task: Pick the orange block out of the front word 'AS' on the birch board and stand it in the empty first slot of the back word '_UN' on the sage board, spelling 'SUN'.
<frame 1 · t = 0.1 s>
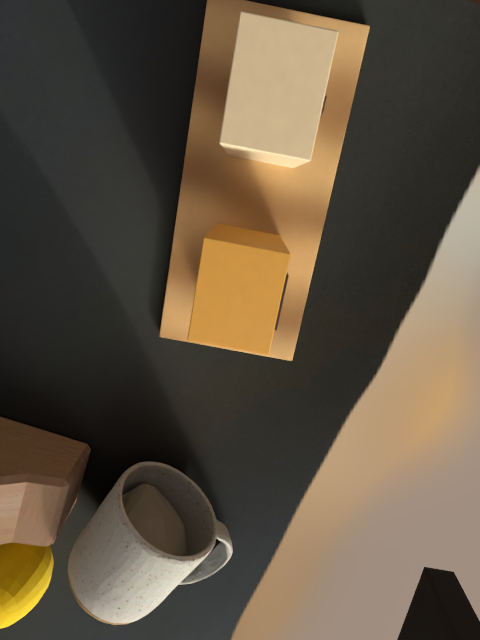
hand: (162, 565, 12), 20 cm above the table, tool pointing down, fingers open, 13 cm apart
fruit: (35, 531, 36), on the table
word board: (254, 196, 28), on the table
orange block: (240, 268, 29), resting on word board
decorative block: (13, 449, 34), on the table
A tile: (269, 116, 27), resting on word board
ceramic mug: (168, 510, 35), on the table
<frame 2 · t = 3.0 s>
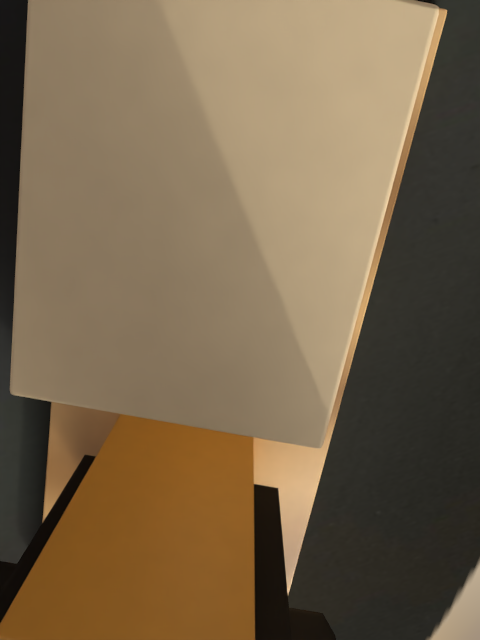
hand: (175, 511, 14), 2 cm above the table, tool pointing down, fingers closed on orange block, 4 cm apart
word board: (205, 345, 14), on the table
orange block: (180, 476, 15), point 1 cm above the table, touching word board, gripper
A tile: (229, 201, 13), resting on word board
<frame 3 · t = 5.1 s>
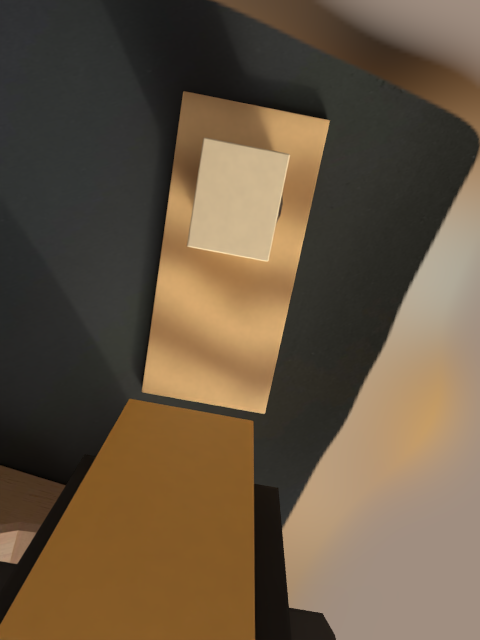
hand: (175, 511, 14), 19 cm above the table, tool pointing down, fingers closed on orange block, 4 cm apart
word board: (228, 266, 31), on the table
orange block: (180, 476, 15), point 17 cm above the table, touching gripper
decorative block: (7, 493, 36), on the table
A tile: (240, 198, 29), resting on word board
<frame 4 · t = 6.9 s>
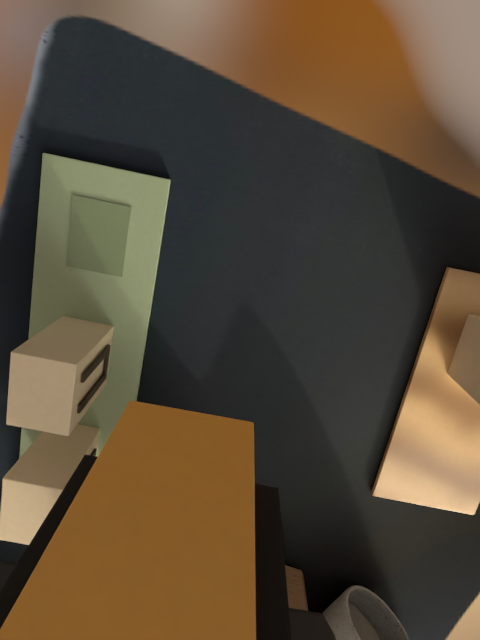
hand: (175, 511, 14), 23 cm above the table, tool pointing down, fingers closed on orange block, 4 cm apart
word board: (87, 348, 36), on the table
wooden letter block: (73, 449, 39), resting on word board
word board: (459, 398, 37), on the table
orange block: (180, 477, 15), point 21 cm above the table, touching gripper
U tile: (85, 350, 36), resting on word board
decorative block: (237, 571, 43), on the table
ceramic mug: (354, 618, 44), on the table
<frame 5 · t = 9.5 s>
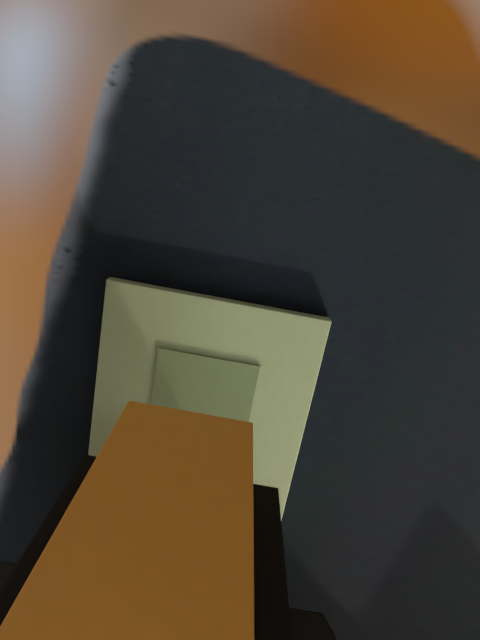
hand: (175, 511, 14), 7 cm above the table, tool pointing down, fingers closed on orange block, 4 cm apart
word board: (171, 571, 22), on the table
orange block: (179, 477, 15), point 5 cm above the table, touching gripper
when the fingers open (2 cm above the table, at t = 11.0 s): orange block stays where it is, resting on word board.
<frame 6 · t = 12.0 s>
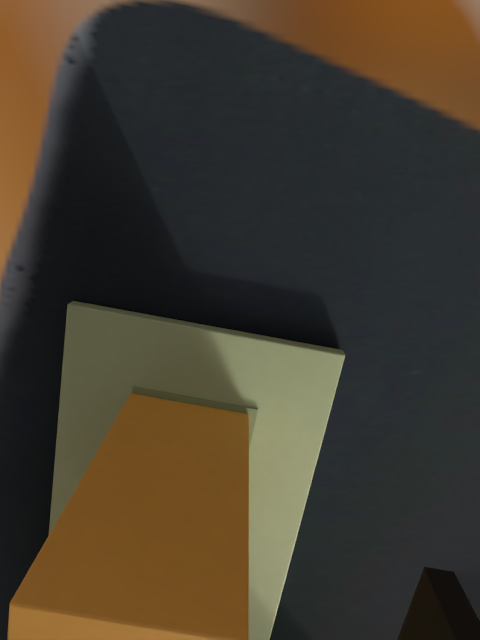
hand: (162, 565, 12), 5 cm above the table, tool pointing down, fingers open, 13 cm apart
orange block: (179, 467, 16), point 1 cm above the table, touching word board
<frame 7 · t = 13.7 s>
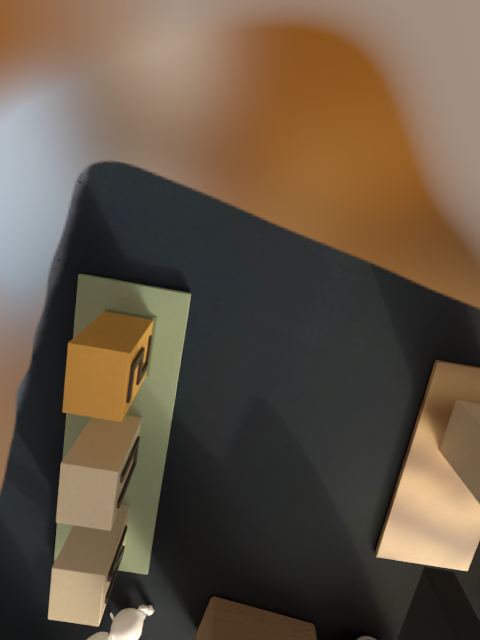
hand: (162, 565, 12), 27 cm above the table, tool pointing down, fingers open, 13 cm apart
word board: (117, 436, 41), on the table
wooden letter block: (105, 524, 43), resting on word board
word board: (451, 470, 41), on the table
orange block: (125, 344, 38), point 1 cm above the table, touching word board
U tile: (116, 439, 40), resting on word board
decorative block: (255, 625, 47), on the table
A tile: (469, 429, 40), resting on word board
rabbit figurine: (116, 613, 46), on the table
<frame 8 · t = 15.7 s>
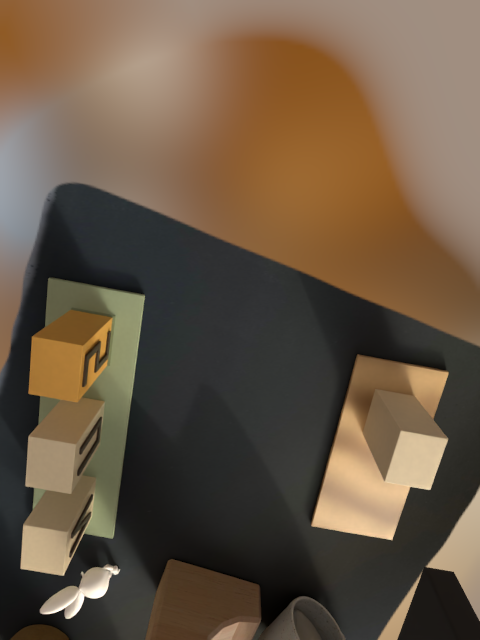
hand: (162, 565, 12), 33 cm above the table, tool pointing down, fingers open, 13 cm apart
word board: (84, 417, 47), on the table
wooden letter block: (75, 493, 49), resting on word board
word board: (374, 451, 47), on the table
orange block: (89, 338, 44), point 1 cm above the table, touching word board
U tile: (83, 419, 47), resting on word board
decorative block: (208, 586, 53), on the table
A tile: (388, 414, 46), resting on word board
rabbit figurine: (87, 572, 53), on the table
ceramic mug: (304, 622, 54), on the table
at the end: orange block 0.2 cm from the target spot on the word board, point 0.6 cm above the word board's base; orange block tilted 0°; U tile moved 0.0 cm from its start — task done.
